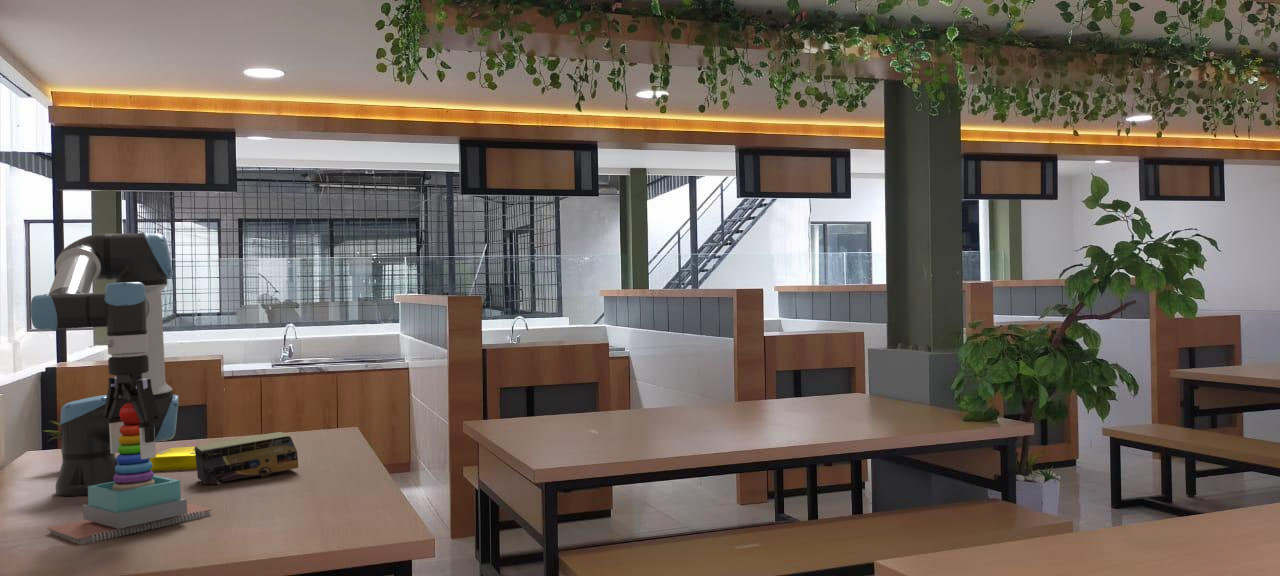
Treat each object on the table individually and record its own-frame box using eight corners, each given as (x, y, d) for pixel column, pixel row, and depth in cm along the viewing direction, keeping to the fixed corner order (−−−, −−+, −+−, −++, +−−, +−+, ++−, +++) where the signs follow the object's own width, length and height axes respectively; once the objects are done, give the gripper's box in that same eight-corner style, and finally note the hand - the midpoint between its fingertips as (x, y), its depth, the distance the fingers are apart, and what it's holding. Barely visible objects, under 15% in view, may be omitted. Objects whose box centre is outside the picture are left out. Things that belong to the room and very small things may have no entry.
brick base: (83, 519, 201) (82, 486, 201) (150, 504, 212) (149, 473, 212) (118, 529, 191) (117, 494, 191) (187, 513, 202) (185, 480, 202)
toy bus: (299, 472, 252) (296, 434, 252) (204, 490, 239) (201, 450, 239) (289, 466, 260) (286, 430, 260) (197, 483, 247) (194, 445, 247)
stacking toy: (137, 494, 197) (133, 404, 196) (103, 494, 198) (99, 404, 198) (163, 486, 204) (159, 399, 204) (131, 486, 206) (127, 399, 206)
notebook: (79, 548, 187) (79, 538, 187) (47, 536, 198) (46, 526, 198) (215, 517, 208) (214, 508, 208) (178, 508, 219) (178, 499, 219)
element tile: (169, 462, 278) (168, 446, 278) (221, 459, 279) (221, 443, 279) (146, 473, 263) (145, 455, 263) (201, 470, 264) (201, 453, 264)
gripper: (83, 355, 206) (87, 453, 206) (138, 358, 190) (143, 463, 191) (119, 352, 211) (123, 447, 212) (175, 354, 196) (180, 457, 197)
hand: (132, 455), depth 201 cm, fingers open, 13 cm apart
